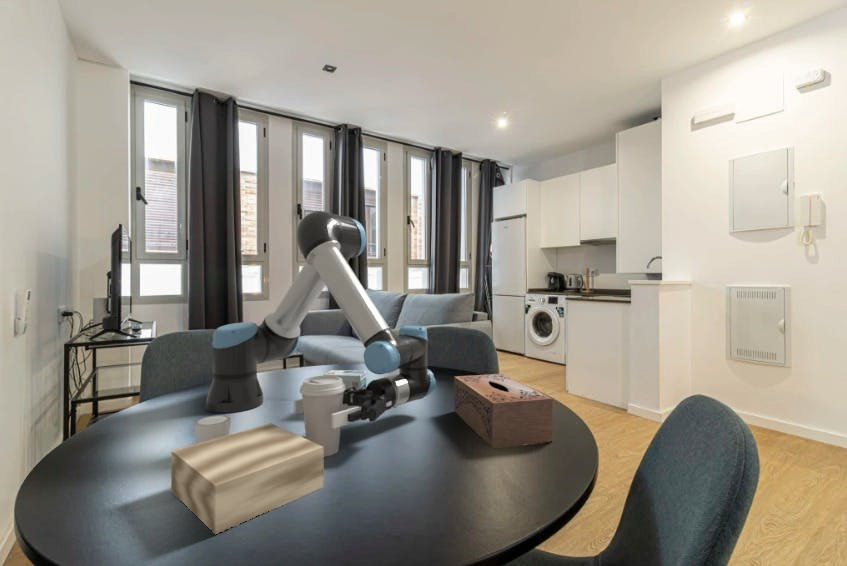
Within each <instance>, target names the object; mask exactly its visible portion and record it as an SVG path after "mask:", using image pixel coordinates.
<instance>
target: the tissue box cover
mask: <svg viewBox="0 0 847 566" xmlns="http://www.w3.org/2000/svg"><path fill="white" fill-rule="evenodd" d="M453 378H454V379H453V380H454V383H453V384H454V385H453V392H454V394H453V396H454V397H453V398H454V399H453V403H454V404H453V406H454V407H453V412H454V411H455V412H456V413H457V414H458V415H459V416H460V417H461V418H462V419H463V420H462V419H461V418H460V417H459V416H458V415H457V414H456V413H455V412H454V413H455V414H456V415H457V416H458V417H459V418H460V419H461V420H462V421H463V422H464V423H465V424H467V425H468V426H469V427H470V429H472V430H473V431H474V430H475V431H476V432H477V433H478V434H479V435H480V436H481V437H482V438H483V439H484V440H485V441H486V442H485V441H484V440H483V441H484V442H485V443H486V444H487V445H489V447H490V448H492V449H493V448H495V449H501V448H500V447H504V448H510V447H509V446H513V447H518V446H517V445H522V446H525V445H524V444H531V443H540V444H542V443H541V442H550V441H553V439H554V437H553V435H554V433H553V429H554V427H553V425H554V424H553V422H554V421H553V419H554V417H553V415H554V413H553V412H554V409H553V407H554V406H553V400H554V398H552V397H550V396H548V395H546V394H544V393H542V392H541V391H538V390H536V389H535V388H532V387H530V386H528V385H527V384H526V385H525V384H524V383H522V382H520V381H518V380H516V379H513V378H512V377H509V376H508V375H506V374H504V373H494V374H493V373H492V374H490V373H489V374H477V375H459V376H458V375H457V376H456V375H455V376H453ZM475 431H474V432H475ZM476 432H475V433H476ZM477 433H476V434H477ZM478 434H477V435H478ZM479 435H478V436H479ZM480 436H479V437H480ZM481 437H480V438H481ZM482 438H481V439H482ZM550 443H551V442H550ZM531 445H532V444H531Z"/></svg>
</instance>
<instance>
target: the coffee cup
mask: <svg viewBox="0 0 847 566" xmlns="http://www.w3.org/2000/svg"><path fill="white" fill-rule="evenodd" d="M345 390H346V386H345V384H344V383H343V381H342V378H341V377H337V376H324V375H316V376H312V377H307V378H305V379H304V380H303V383H302V385H301V386H300V388H299V393H300V394H301V396H302V398H301V399H303V410H304V412H303V418H304V420H303V421H304V430H305V431H304V433H305V439H307V440H309V441H312V442H314V443H316V444H318V445H321V446H323V447H324V457H330V456H333V455H335V454H336V453H338V451H339V448H340V438H341V427H338V428H335V429H333V428H332V414H334V413H337V412H340V411H342V404H343V394H344V391H345Z"/></svg>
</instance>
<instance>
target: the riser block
mask: <svg viewBox="0 0 847 566" xmlns="http://www.w3.org/2000/svg"><path fill="white" fill-rule="evenodd" d="M170 462H171V464H170V465H171V466H170V467H171V472H170V473H171V474H170V475H171V476H170V478H171V483H170V484H171V487H170V489H171V490H170V491H171V493H172V494H173V493H174V494H173V495H174V496H175V497H176V498H177V499H178V501H180V502H181V501H182V502H183V503H184V504H185V505H186V506H187V507H188V508H189V509H190V510H191V511H192V512H193V513H194V514H195V515H196V516H197V517H198V518H199V519H200V520H201V521H203V522H204V523H205V524H206V525H207V526H208V527H209V528H210V529H211V530H212V531H213V532H214V533H215V534H217V533H219V532H222V531H224V530H226V529H229V528H231V527H233V526H236V525H238V524H240V523H242V522H244V521H246V520H249V519H251V520H253V519H252V518H254V517H255V516H258V515H260V514H263V513H265V514H266V512H267V513H269V512H271V511H274V510H276V509H277V508H280V507H283V506H284V505H287V504H289V503H291V502H293V501H295V500H298V499H301V498H303V497H305V496H307V495H309V494H311V493H314V492H315V491H318V490H320V489H322V488H324V479H325V478H324V475H325V474H324V468H325V467H324V463H325V462H324V447H323V446H321V445H318V444H316V443H314V442H312V441H309V440H307V439H306V437H305V438H304V437H303V436H301V435H299V434H296V433H294V432H291V431H289V430H288V429H285V428H283V427H281V426H279V425H277V424H274V423H267V424H263V425H260V426H256V427H253V428H249V429H246V430H245V429H244V430H242V431H237V432H234V433H230V434H229V435H227V436H223V437H219V438H216V439H212V440H209V441H205V442H201V443H198V444H196V443H195V444H194V443H193V444H191V445H188V446H184V447H180V448H177V449H174V450H173V449H172V450H171V461H170ZM182 502H181V503H182ZM183 503H182V504H183ZM184 504H183V505H184ZM185 505H184V506H185ZM282 505H283V506H282ZM186 506H185V507H186ZM187 507H186V508H187ZM188 508H187V509H188ZM275 508H276V509H275ZM189 509H188V510H189ZM273 509H274V510H273ZM190 510H189V511H190ZM191 511H190V512H191ZM268 511H269V512H268ZM192 512H191V513H192ZM193 513H192V514H193ZM194 514H193V515H194ZM195 515H194V516H195ZM263 515H264V514H263ZM196 516H195V517H196ZM260 516H261V515H260ZM197 517H196V518H197ZM258 517H259V516H258ZM198 518H197V519H198ZM199 519H198V520H199ZM254 519H255V518H254ZM200 520H199V521H200ZM201 521H200V522H201ZM249 521H250V520H249ZM240 525H241V524H240ZM238 526H239V525H238ZM236 527H237V526H236ZM231 529H232V528H231ZM229 530H230V529H229Z"/></svg>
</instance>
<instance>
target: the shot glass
mask: <svg viewBox="0 0 847 566" xmlns="http://www.w3.org/2000/svg"><path fill="white" fill-rule="evenodd" d="M231 423H232V417H231V416H229V415H225V414H224V415H223V414H222V415H221V414H219V415H211V416H205V417H202V418H199V419H196V420H195V421H194V423H193V426H194V427H193V428H194V436H195V437H194V438H195V444H198V443H201V442H205V441H209V440H212V439H216V438H219V437H223V436H227V435H230V434H231Z"/></svg>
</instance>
